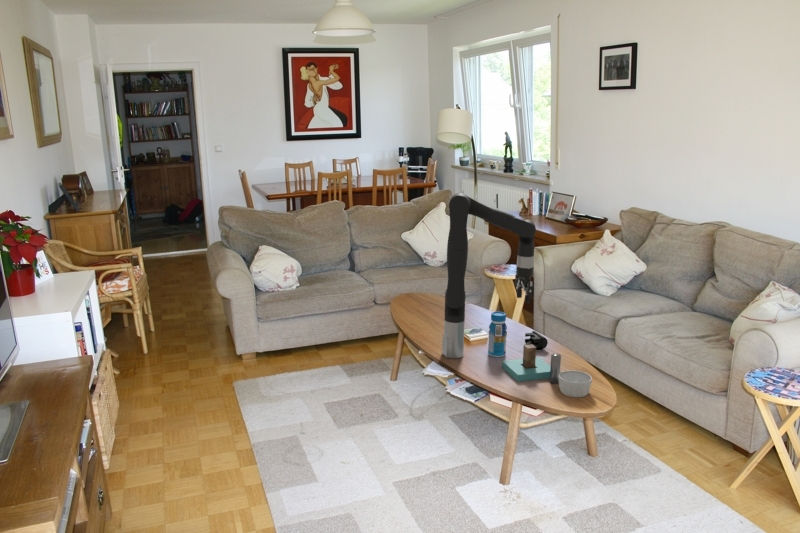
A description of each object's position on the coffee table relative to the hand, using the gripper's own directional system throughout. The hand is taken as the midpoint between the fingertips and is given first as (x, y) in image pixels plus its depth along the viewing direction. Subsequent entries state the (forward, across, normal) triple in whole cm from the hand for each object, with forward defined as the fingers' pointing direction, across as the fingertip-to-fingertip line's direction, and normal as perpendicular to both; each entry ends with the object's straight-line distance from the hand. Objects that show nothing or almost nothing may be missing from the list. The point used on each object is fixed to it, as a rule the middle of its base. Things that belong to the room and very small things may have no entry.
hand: (523, 300), depth 299 cm
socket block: (+28, +15, -3) cm, 32 cm away
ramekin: (+28, +38, +6) cm, 48 cm away
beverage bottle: (+28, -8, -8) cm, 30 cm away
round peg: (+28, +27, +3) cm, 39 cm away
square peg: (+28, +15, -3) cm, 32 cm away
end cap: (+28, -12, +14) cm, 34 cm away
